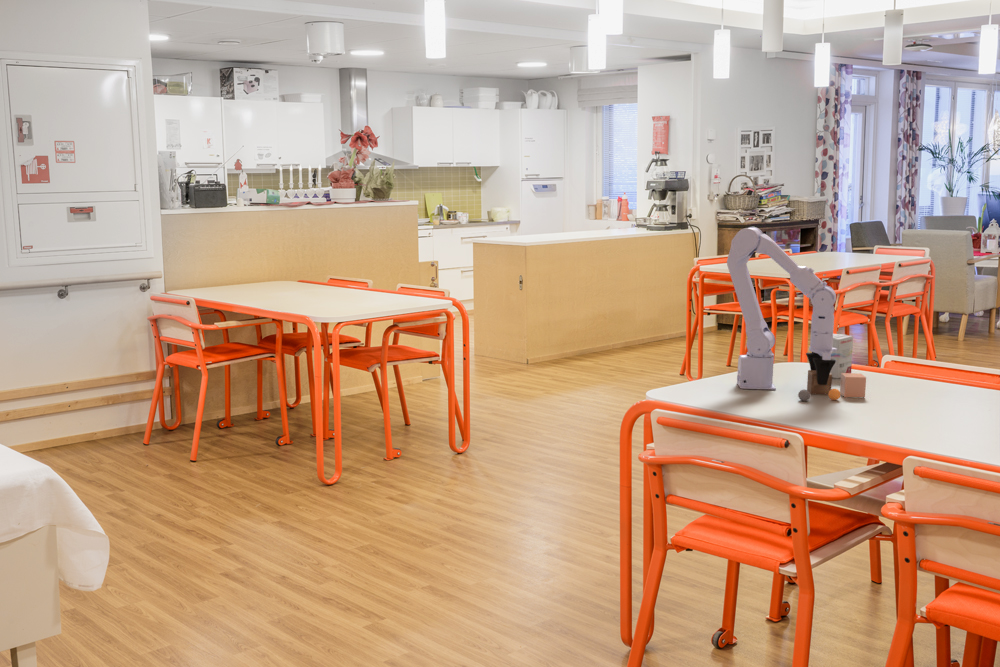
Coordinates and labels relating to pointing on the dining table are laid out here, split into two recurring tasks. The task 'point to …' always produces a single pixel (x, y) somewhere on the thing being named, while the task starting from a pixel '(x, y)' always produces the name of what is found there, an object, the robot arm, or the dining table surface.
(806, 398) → the ball left
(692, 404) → the dining table surface
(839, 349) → the ink box
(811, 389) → the brown block
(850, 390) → the salmon pink block
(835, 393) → the orange ball
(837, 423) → the dining table surface
